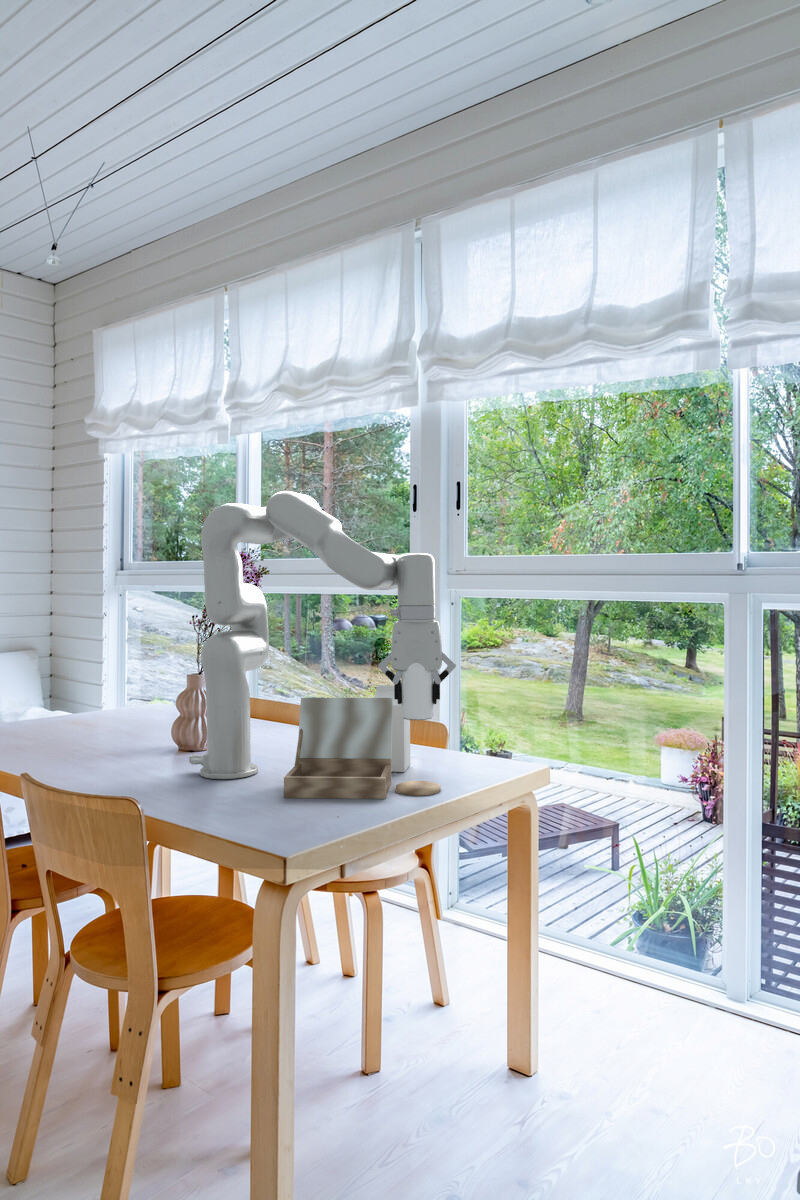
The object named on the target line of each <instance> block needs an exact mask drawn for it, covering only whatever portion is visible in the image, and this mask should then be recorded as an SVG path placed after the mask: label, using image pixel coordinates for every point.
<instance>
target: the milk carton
mask: <svg viewBox="0 0 800 1200" xmlns="http://www.w3.org/2000/svg"><path fill="white" fill-rule="evenodd" d="M373 698H393V706H392V752H391V773H393V772H395V773H405V772H407V770H408V768H409V767H410V766H411V720H407V719H404V718H403V717H402V703H401V704H398V699H395V698H394V684H376V686H375V693H374V697H373Z"/></svg>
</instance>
